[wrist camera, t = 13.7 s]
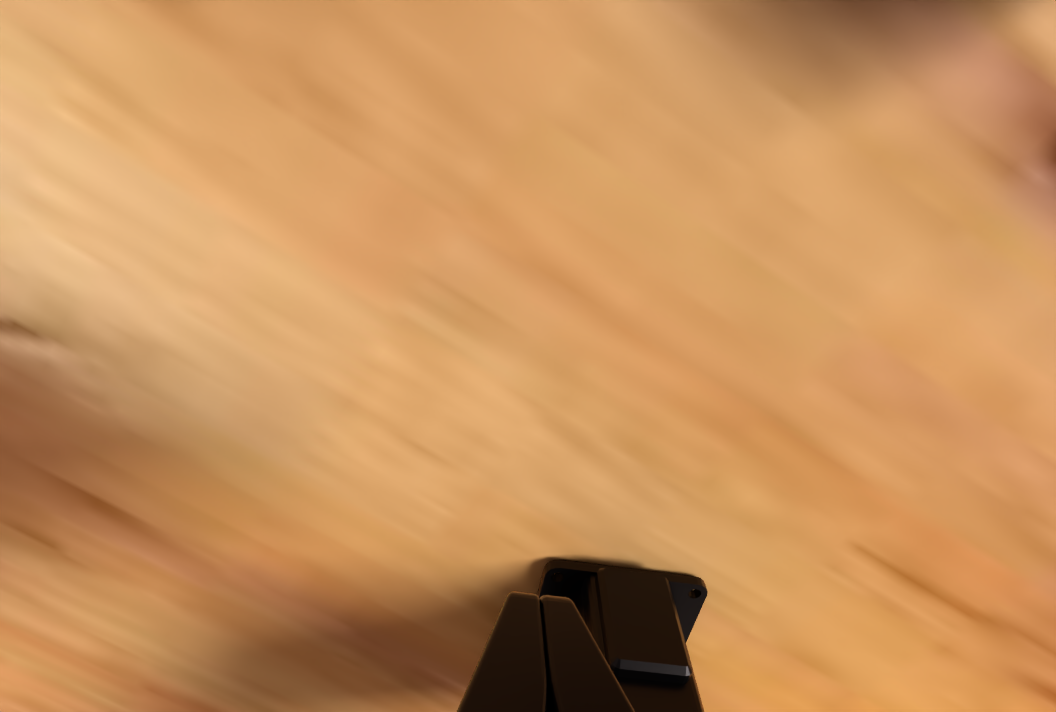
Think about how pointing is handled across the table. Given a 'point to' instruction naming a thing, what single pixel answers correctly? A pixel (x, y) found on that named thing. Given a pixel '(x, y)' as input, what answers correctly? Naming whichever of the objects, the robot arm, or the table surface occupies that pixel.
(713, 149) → the table surface
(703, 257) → the table surface
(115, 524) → the table surface
